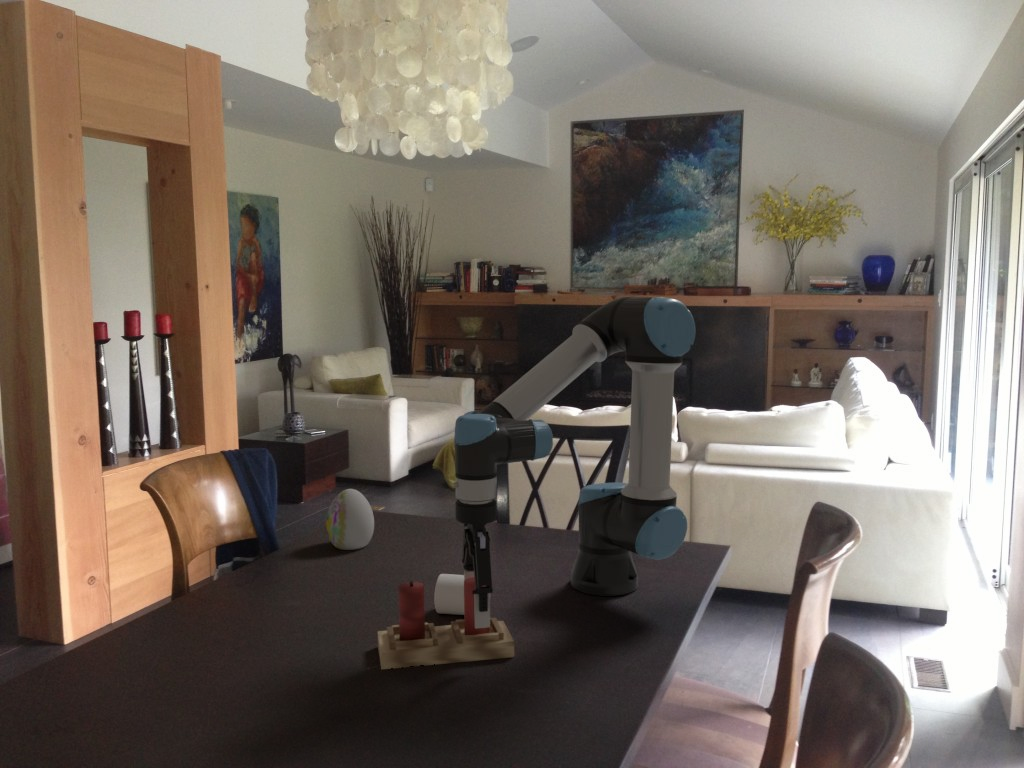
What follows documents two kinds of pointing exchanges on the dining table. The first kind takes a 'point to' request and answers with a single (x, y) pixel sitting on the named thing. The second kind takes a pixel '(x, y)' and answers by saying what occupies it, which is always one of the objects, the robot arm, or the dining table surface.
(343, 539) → the decorative egg
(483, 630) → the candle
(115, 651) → the dining table surface
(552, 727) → the dining table surface
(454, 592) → the mug
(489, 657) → the oak candlestand
